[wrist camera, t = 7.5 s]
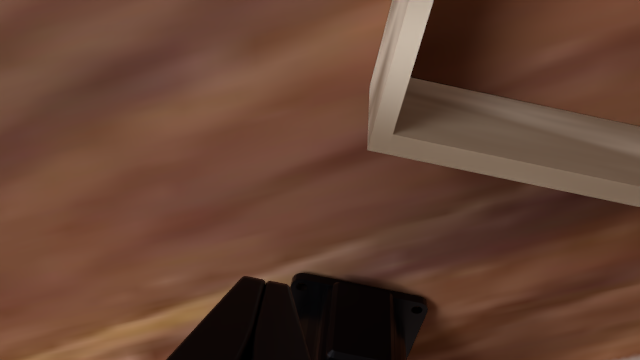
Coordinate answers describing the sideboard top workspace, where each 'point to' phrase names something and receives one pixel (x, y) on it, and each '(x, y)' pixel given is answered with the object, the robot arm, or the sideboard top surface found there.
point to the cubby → (492, 126)
